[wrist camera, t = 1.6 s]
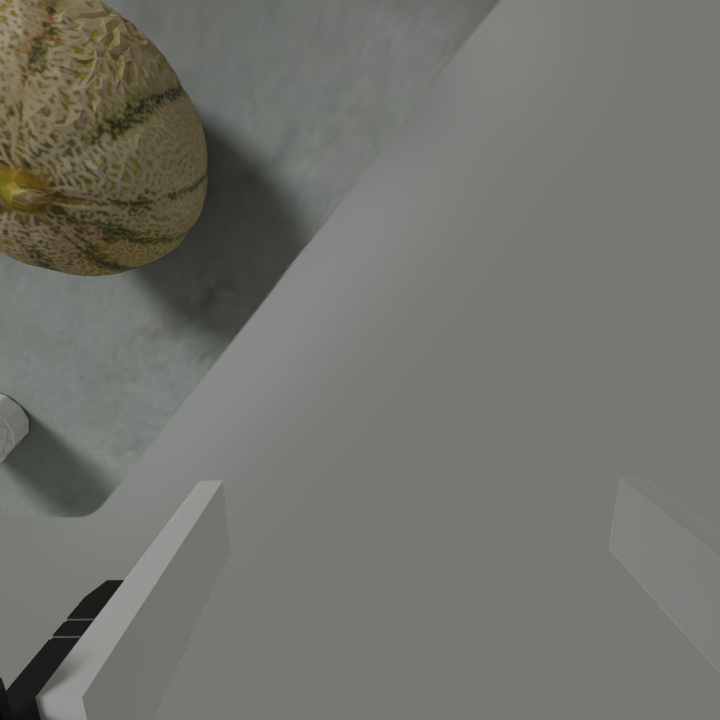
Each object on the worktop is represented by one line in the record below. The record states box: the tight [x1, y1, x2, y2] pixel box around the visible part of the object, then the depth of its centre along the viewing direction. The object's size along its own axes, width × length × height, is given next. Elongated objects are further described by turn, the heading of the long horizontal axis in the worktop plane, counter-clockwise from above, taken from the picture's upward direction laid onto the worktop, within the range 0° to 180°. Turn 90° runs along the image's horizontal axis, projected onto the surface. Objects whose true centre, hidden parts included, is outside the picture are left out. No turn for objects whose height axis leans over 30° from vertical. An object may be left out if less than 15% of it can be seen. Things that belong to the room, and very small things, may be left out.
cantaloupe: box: [0, 0, 208, 276], centre depth 22 cm, size 15×15×15 cm
